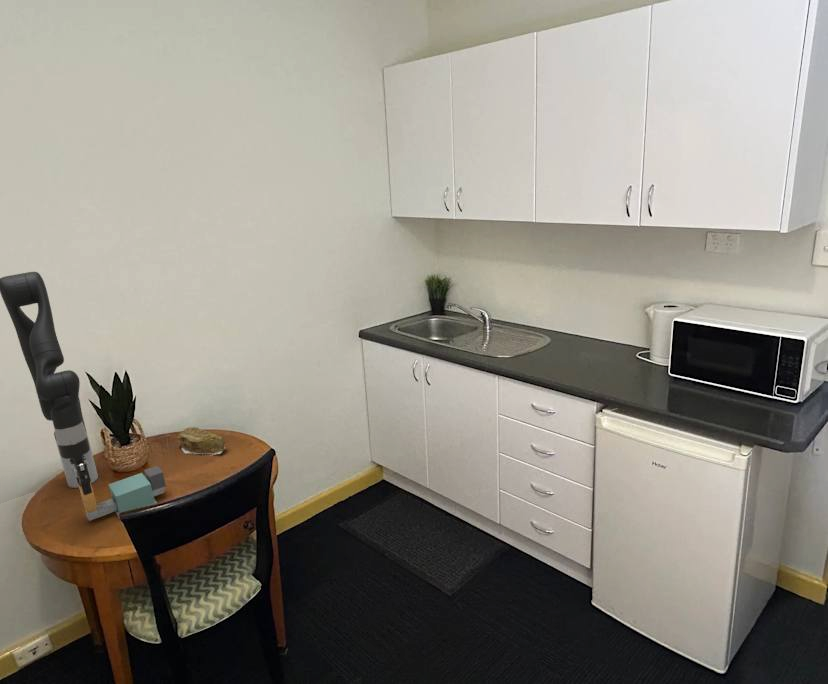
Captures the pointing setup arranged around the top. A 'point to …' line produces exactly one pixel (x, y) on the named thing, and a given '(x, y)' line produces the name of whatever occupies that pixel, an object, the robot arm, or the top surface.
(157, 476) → the block
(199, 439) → the stone
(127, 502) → the block
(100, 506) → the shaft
